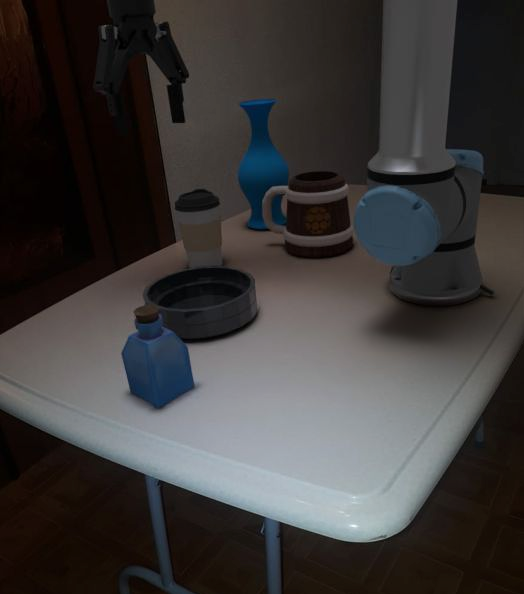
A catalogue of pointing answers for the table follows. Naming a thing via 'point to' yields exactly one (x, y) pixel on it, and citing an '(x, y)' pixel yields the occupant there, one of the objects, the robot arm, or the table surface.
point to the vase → (262, 165)
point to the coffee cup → (200, 227)
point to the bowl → (204, 300)
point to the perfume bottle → (156, 360)
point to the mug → (313, 214)
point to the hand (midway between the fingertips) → (152, 129)
